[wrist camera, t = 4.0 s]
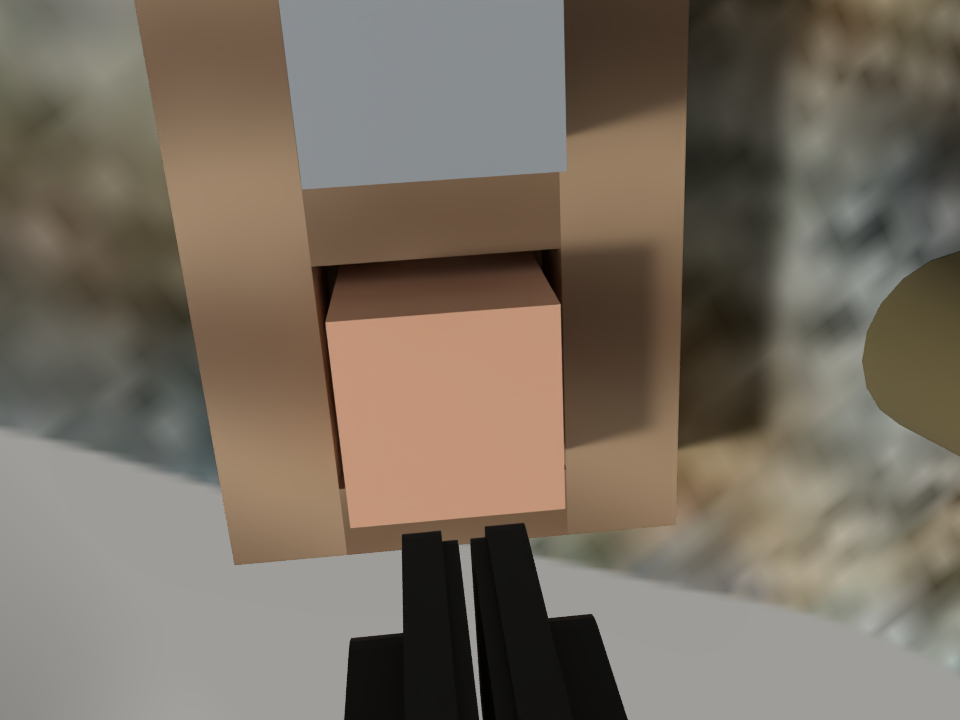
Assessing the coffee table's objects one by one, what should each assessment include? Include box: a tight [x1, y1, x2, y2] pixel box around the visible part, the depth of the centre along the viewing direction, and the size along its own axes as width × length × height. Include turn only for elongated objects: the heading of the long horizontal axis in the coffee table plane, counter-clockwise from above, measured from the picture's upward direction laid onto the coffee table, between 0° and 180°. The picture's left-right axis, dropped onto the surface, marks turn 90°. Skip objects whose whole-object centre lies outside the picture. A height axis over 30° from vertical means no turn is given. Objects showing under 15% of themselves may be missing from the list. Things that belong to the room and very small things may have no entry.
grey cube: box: [278, 0, 567, 189], centre depth 18 cm, size 5×5×5 cm
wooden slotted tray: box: [134, 0, 689, 565], centre depth 22 cm, size 26×12×4 cm, turn 3°
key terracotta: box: [325, 251, 565, 528], centre depth 22 cm, size 5×5×5 cm
